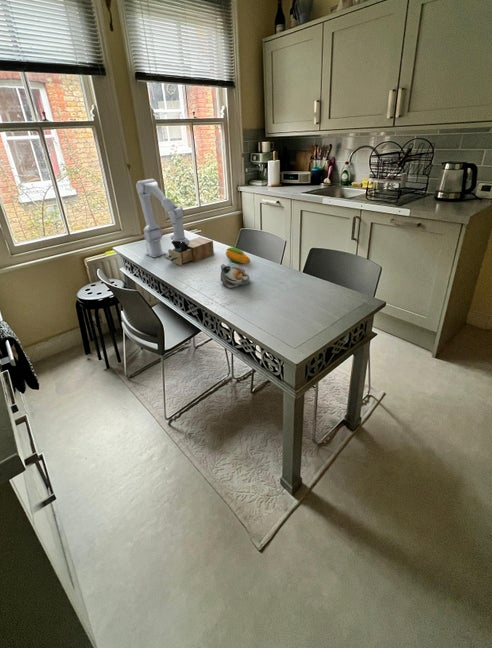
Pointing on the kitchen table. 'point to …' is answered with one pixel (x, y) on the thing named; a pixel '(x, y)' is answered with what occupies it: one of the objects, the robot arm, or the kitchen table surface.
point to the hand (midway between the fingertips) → (181, 253)
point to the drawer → (177, 257)
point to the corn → (237, 255)
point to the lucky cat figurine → (233, 275)
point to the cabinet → (201, 248)
